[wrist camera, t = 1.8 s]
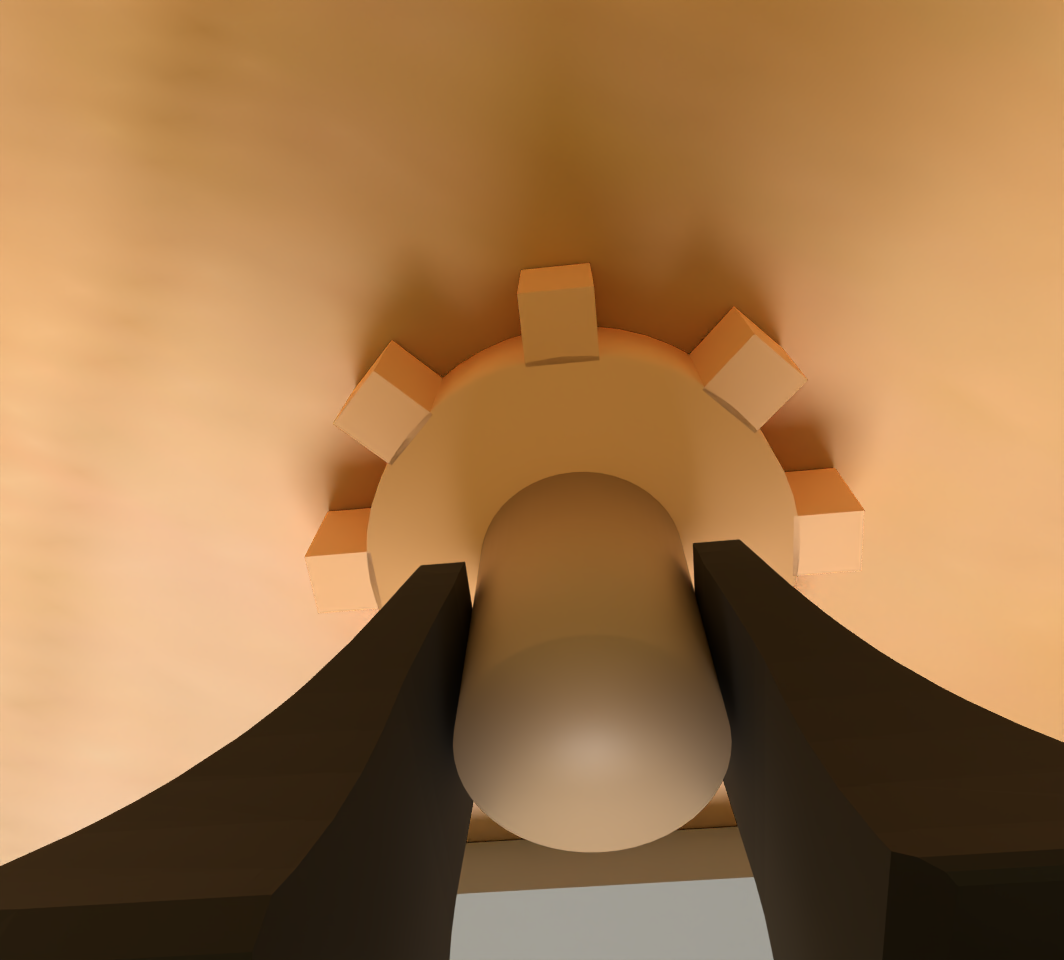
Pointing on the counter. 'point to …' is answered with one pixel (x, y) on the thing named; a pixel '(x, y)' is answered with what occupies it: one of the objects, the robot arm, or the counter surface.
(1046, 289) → the counter surface
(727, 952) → the gear board
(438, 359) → the counter surface
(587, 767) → the wood gear
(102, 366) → the counter surface
